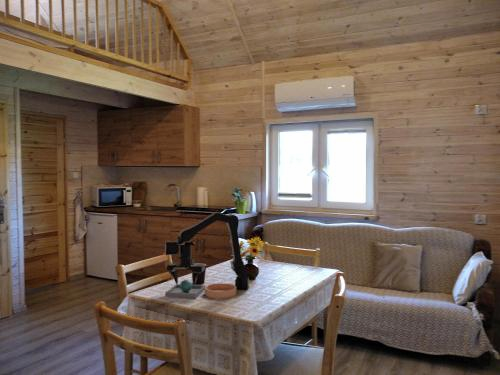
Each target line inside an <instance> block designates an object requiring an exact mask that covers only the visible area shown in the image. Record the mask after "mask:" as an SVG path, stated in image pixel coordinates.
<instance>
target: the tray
mask: <svg viewBox="0 0 500 375" xmlns="http://www.w3.org/2000/svg"><path fill="white" fill-rule="evenodd" d="M180 284H181V283H178V284H176V283H175V284H174V285H173V286H172V287H170V288H169V289H168V290H167V291H165V292H164V297H166V296H167V297H168V298H169V297H173V298H189V299H197V298H198V297H199V296H200V295H201V294H203V292H205V287H206V285H204V284H199V285H197V284H195V285H194V284H192V288H191V290H190V291H188V292H183V291H182V290H181V289H180ZM167 297H166V298H167Z"/></svg>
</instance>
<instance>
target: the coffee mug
mask: <svg viewBox="0 0 500 375" xmlns="http://www.w3.org/2000/svg"><path fill="white" fill-rule="evenodd" d="M197 264H200V265H204V266H205V270H204V271H203V272H201V273H200V274H199V275H198V277H197V280H196V283H195V285H204V284H205V281H206V280H205V279H206V272H207V264H206V263H200V262H199V263H194V265H191V266H196V265H197ZM194 272H195V271H194V270H191V280H192V285H194V283H193V278H194Z"/></svg>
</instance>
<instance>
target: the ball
mask: <svg viewBox="0 0 500 375" xmlns="http://www.w3.org/2000/svg"><path fill="white" fill-rule="evenodd" d="M179 284H180V289H181V290H182V291H183V292H188V291H190V290H191V288H192V285H193V283H192V282H191V281H190V280H188V279H185V280H182V281H181V282H180V283H179Z"/></svg>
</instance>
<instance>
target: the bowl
mask: <svg viewBox="0 0 500 375" xmlns="http://www.w3.org/2000/svg"><path fill="white" fill-rule="evenodd" d="M237 291H238V290H237V287H236V286H235V284H232V283H227V282H223V283H222V282H217V283H211V284H208V285H205V290H204V296H206V297H208V298H211V299H229V298H233V297H235V296H236V295H237Z"/></svg>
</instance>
